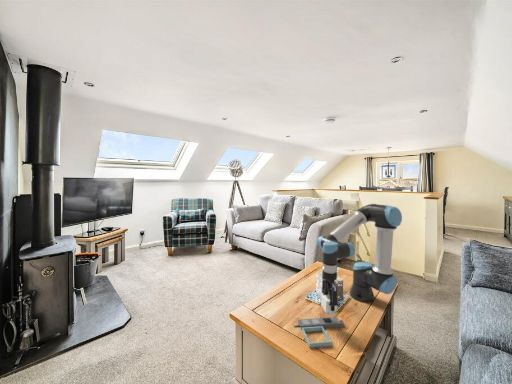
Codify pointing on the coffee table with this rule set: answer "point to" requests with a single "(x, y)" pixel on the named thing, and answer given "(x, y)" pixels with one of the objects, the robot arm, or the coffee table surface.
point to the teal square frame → (316, 344)
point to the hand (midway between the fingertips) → (328, 311)
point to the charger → (326, 303)
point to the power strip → (320, 322)
